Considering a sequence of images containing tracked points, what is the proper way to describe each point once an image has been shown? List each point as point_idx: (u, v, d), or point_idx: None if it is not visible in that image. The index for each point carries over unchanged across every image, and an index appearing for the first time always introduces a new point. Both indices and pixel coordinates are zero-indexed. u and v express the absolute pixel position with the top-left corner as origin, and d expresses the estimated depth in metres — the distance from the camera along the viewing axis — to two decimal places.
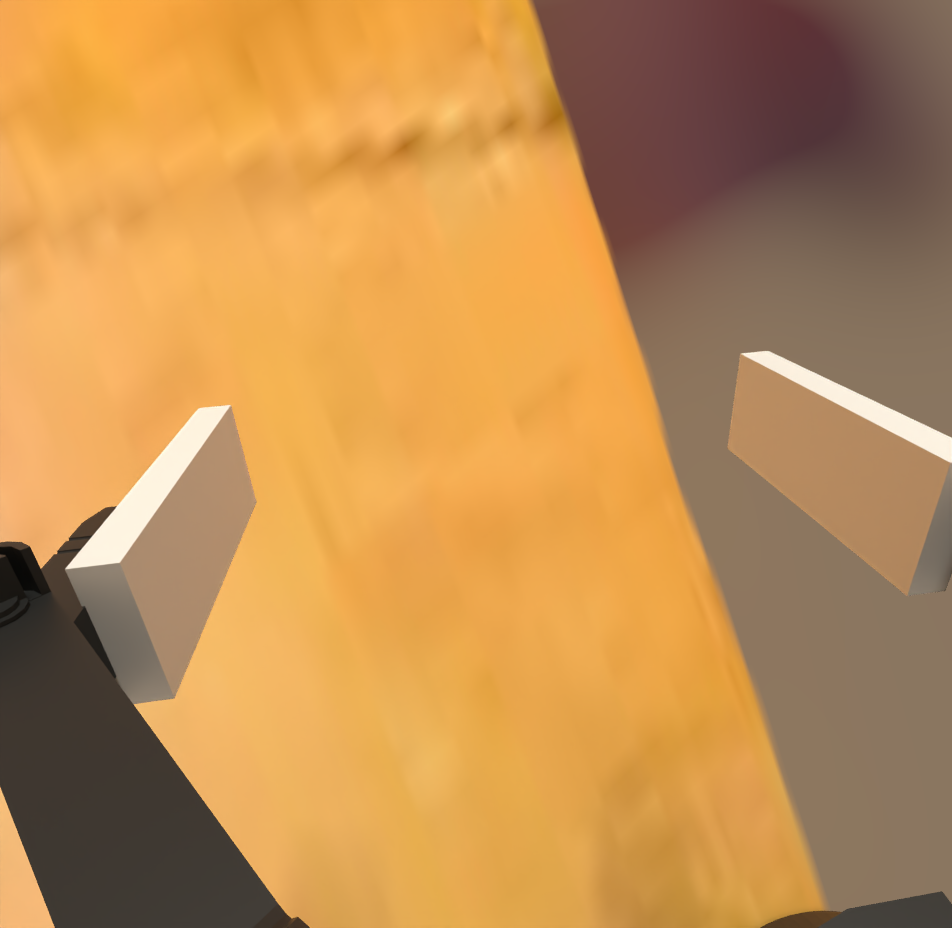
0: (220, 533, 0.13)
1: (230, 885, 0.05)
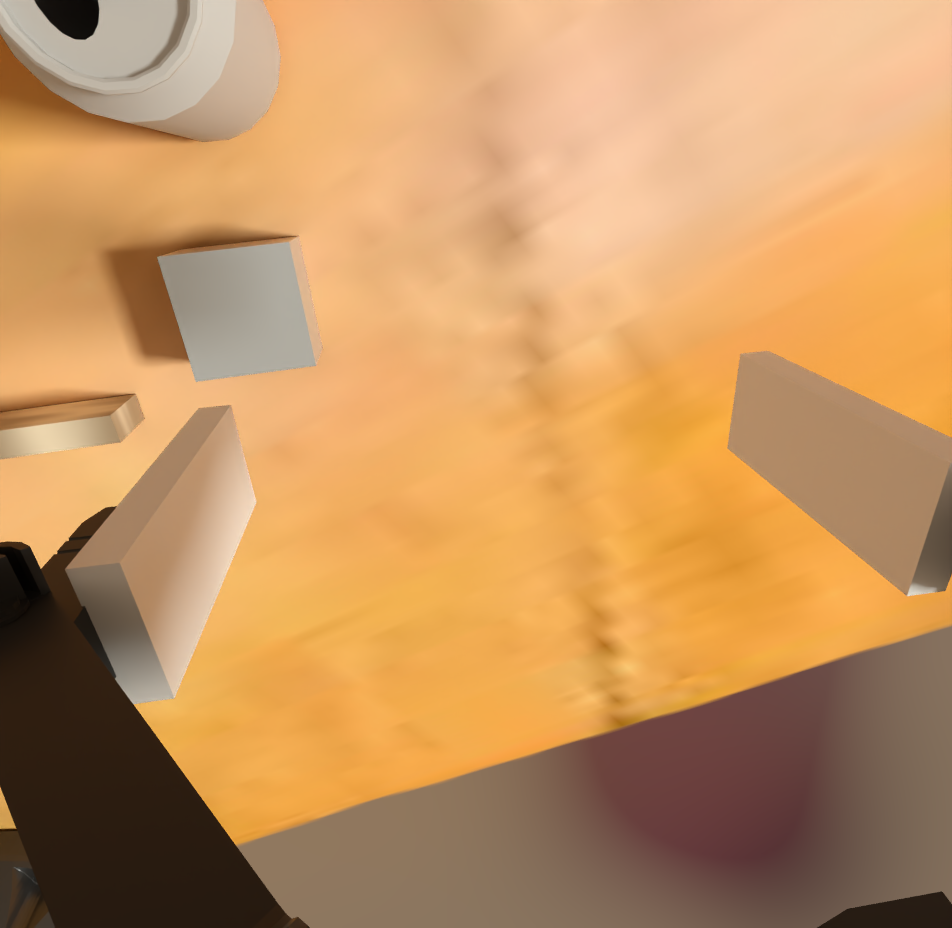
0: (220, 533, 0.13)
1: (230, 885, 0.05)
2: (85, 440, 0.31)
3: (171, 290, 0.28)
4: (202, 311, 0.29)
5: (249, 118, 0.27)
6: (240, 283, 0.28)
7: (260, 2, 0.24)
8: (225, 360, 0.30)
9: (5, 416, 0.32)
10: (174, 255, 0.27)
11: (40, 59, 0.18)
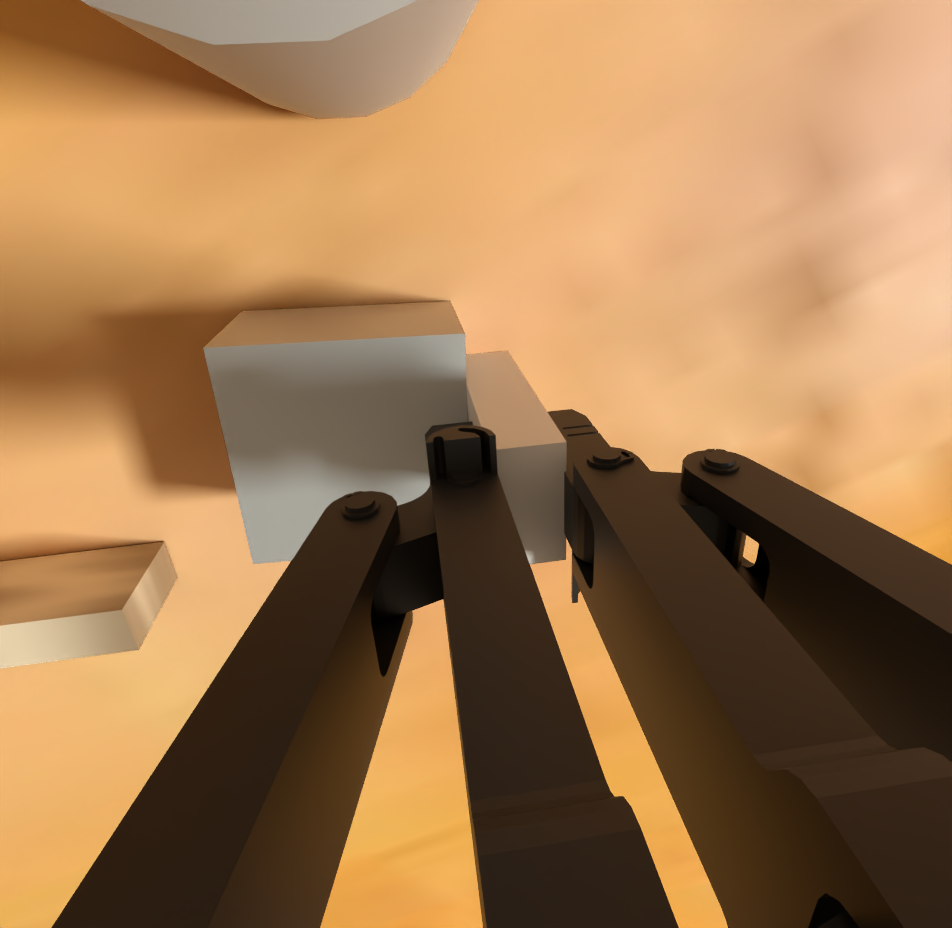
0: None
1: (573, 743, 0.06)
2: (77, 648, 0.17)
3: (225, 410, 0.14)
4: (281, 449, 0.15)
5: (427, 73, 0.13)
6: (359, 404, 0.15)
7: None
8: None
9: None
10: (238, 346, 0.14)
11: None
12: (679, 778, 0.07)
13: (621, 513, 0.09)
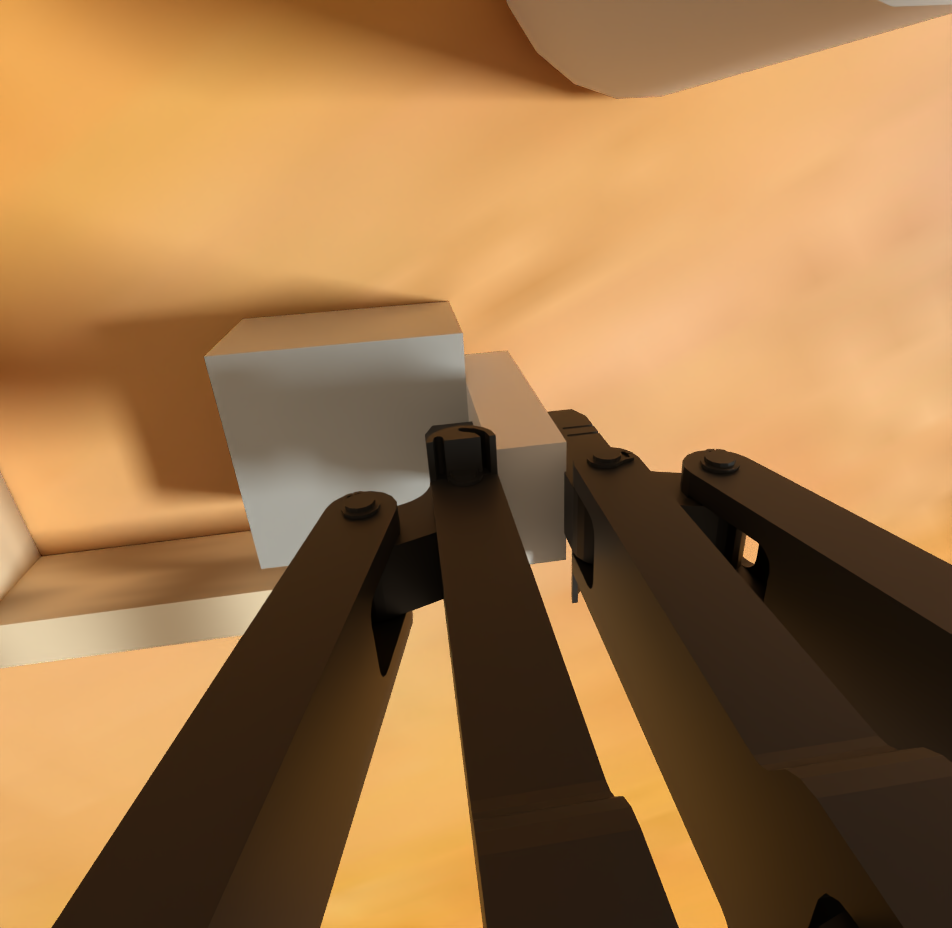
0: None
1: (573, 743, 0.06)
2: None
3: (228, 417, 0.14)
4: (284, 454, 0.15)
5: None
6: (360, 407, 0.15)
7: None
8: None
9: (191, 554, 0.19)
10: (238, 354, 0.14)
11: None
12: (679, 778, 0.07)
13: (621, 513, 0.09)
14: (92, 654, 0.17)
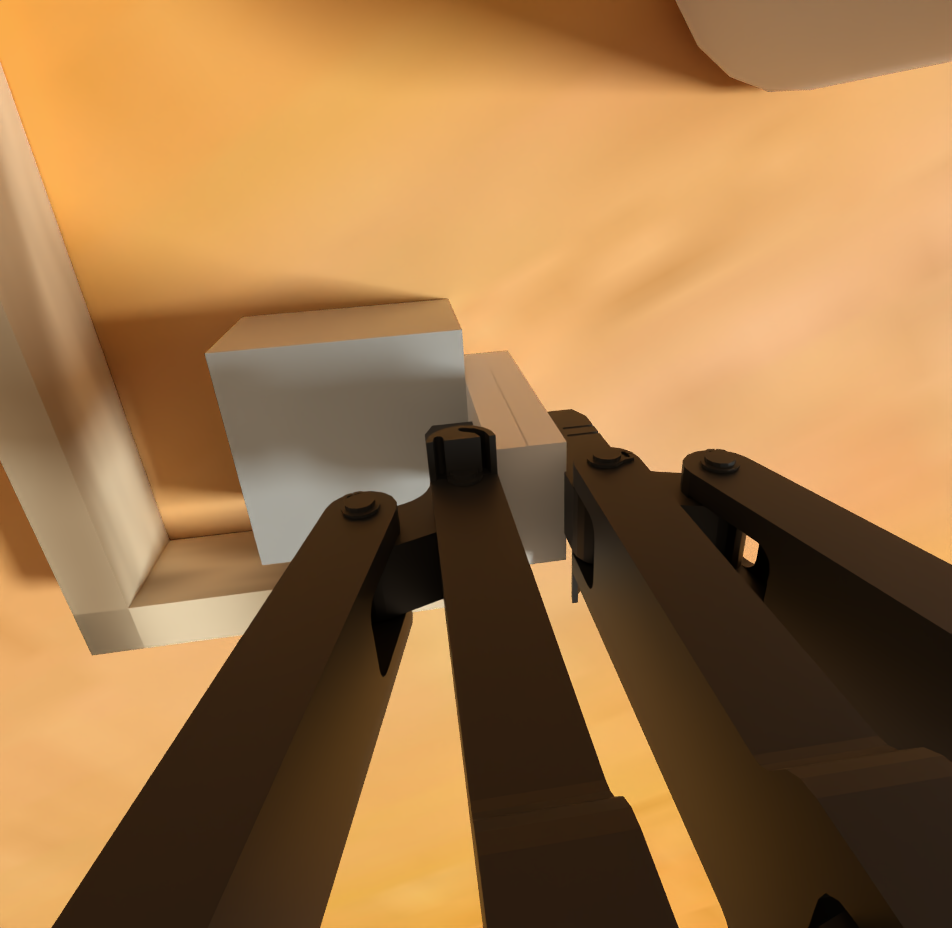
0: None
1: (573, 743, 0.06)
2: None
3: (228, 414, 0.14)
4: (285, 450, 0.15)
5: None
6: (360, 403, 0.15)
7: None
8: None
9: None
10: (238, 351, 0.14)
11: None
12: (679, 778, 0.07)
13: (621, 513, 0.09)
14: (236, 634, 0.18)
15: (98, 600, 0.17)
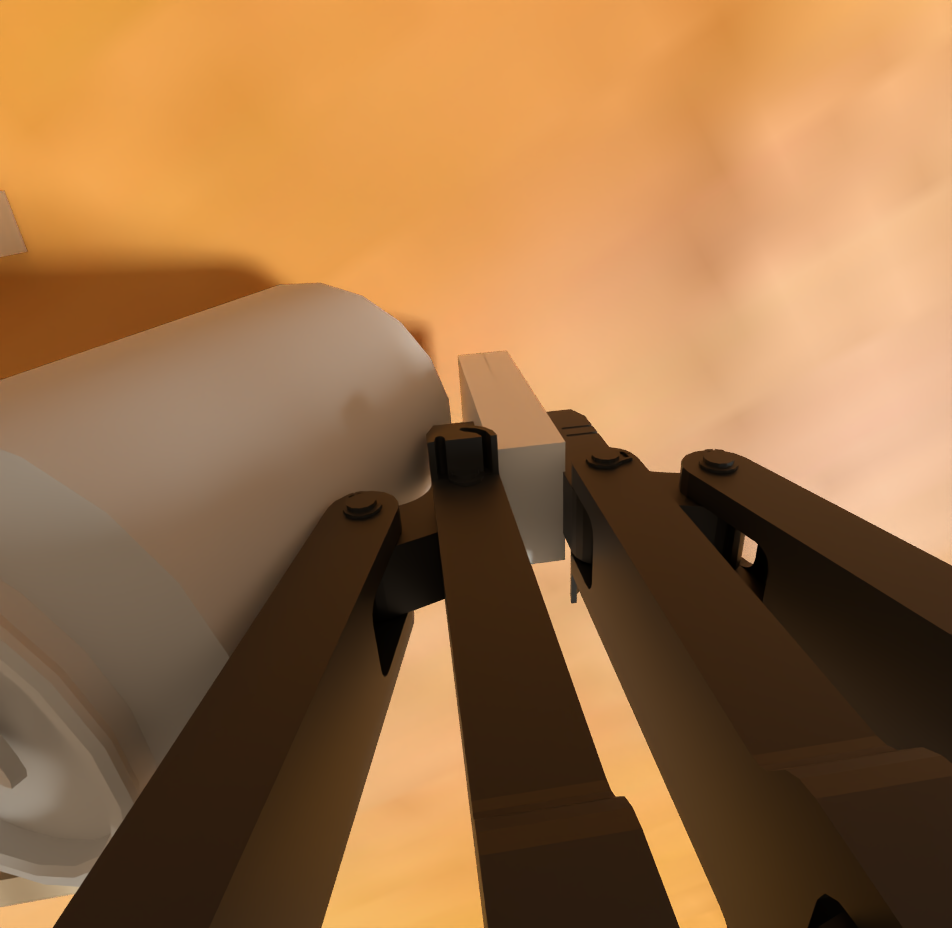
0: None
1: (574, 743, 0.06)
2: None
3: None
4: None
5: None
6: None
7: (404, 438, 0.13)
8: None
9: None
10: None
11: None
12: (679, 778, 0.07)
13: (620, 513, 0.09)
14: None
15: None
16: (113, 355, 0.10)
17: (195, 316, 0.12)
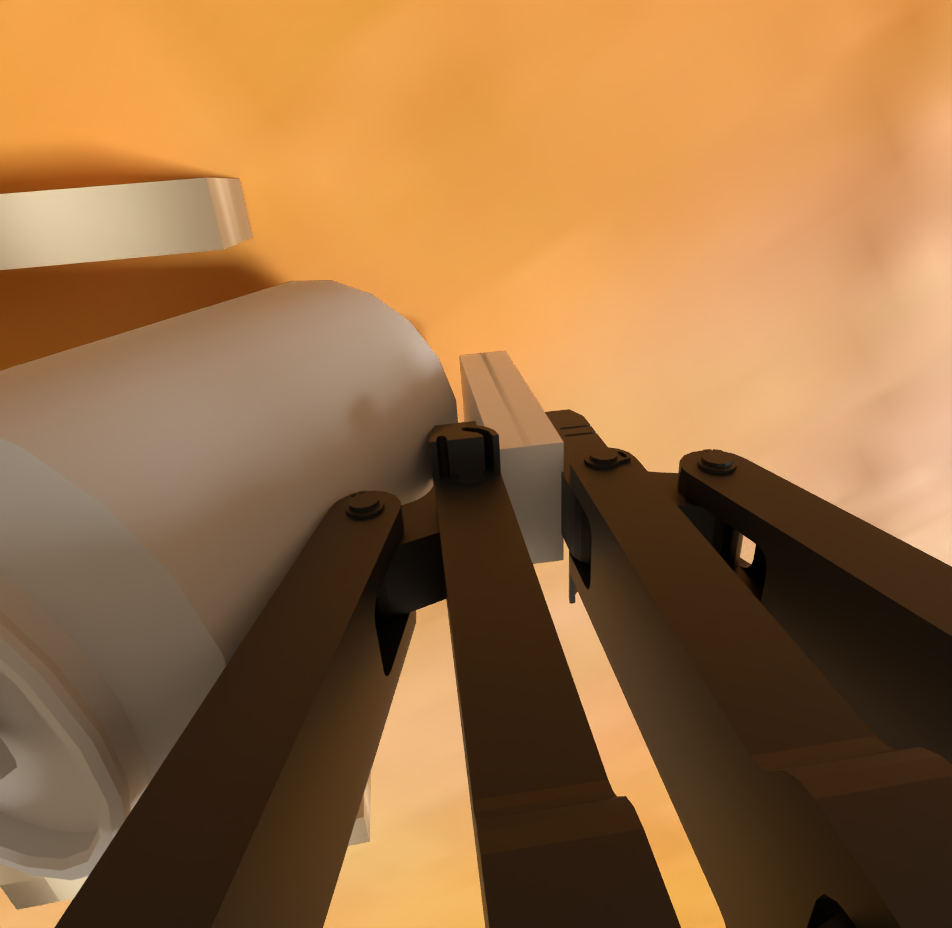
0: None
1: (576, 743, 0.06)
2: None
3: None
4: None
5: None
6: None
7: (409, 438, 0.13)
8: None
9: None
10: None
11: None
12: (676, 778, 0.07)
13: (618, 513, 0.09)
14: None
15: (19, 874, 0.21)
16: (119, 347, 0.10)
17: (204, 310, 0.12)
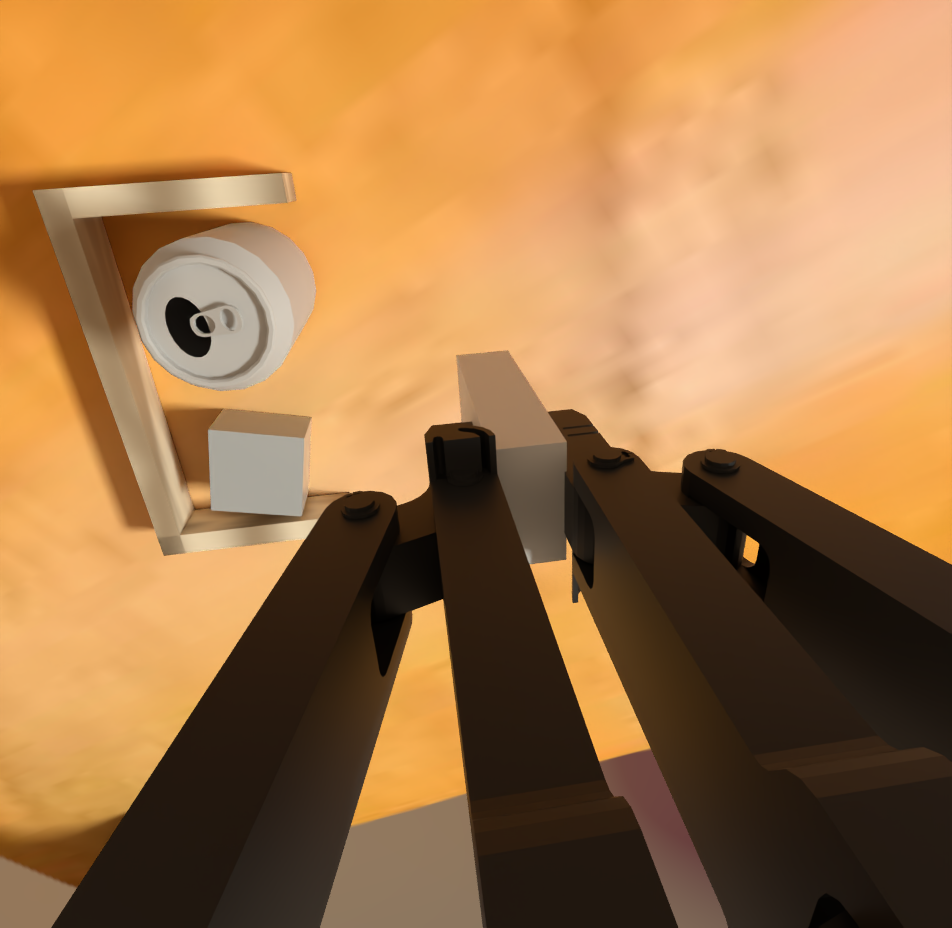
0: None
1: (573, 743, 0.06)
2: None
3: (211, 451, 0.39)
4: (230, 468, 0.39)
5: None
6: (262, 456, 0.39)
7: (305, 275, 0.35)
8: (237, 501, 0.41)
9: None
10: (220, 430, 0.38)
11: (174, 372, 0.28)
12: (679, 777, 0.07)
13: (621, 513, 0.09)
14: (223, 548, 0.42)
15: (167, 531, 0.41)
16: (219, 231, 0.30)
17: (220, 227, 0.33)
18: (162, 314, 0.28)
